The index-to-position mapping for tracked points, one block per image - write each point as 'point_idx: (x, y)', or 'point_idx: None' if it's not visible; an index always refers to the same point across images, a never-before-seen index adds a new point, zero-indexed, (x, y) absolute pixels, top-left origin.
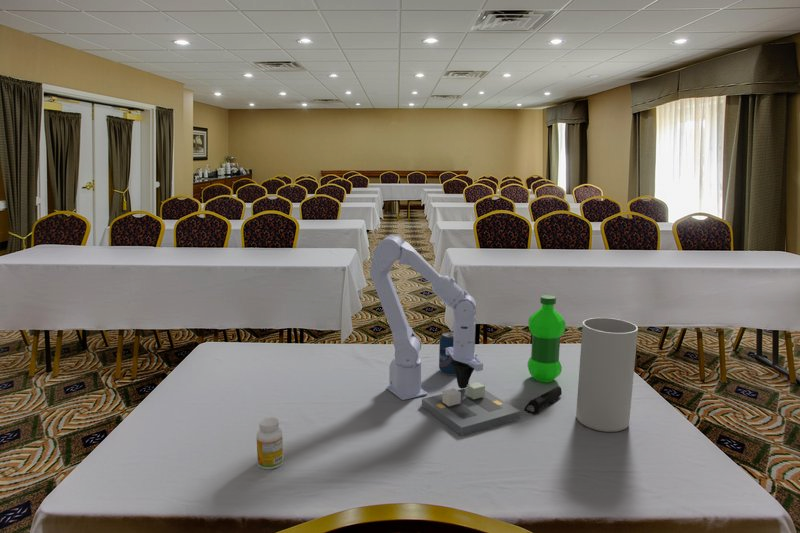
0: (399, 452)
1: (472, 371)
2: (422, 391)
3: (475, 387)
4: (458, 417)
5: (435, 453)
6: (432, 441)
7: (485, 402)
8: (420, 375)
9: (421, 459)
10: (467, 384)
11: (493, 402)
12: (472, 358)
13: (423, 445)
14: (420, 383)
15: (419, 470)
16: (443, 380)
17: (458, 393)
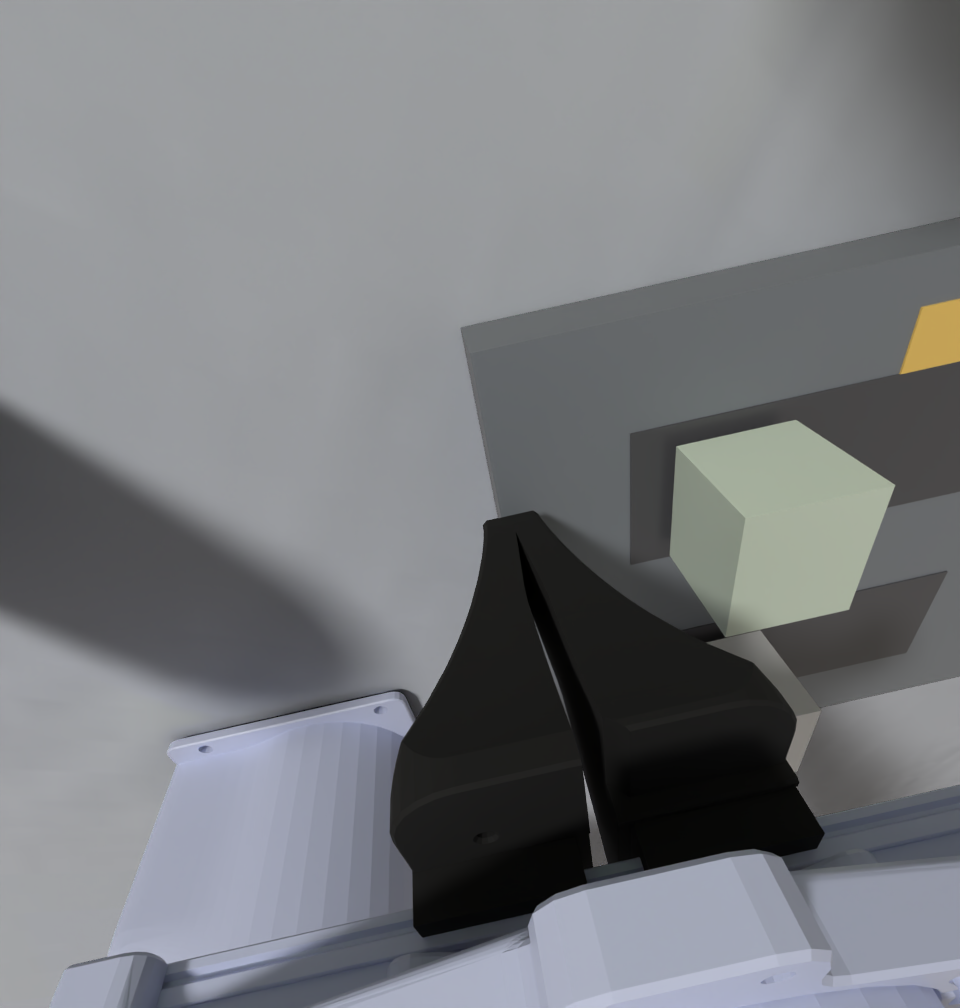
0: (829, 803)
1: (667, 630)
2: (370, 717)
3: (839, 588)
4: (872, 665)
5: (929, 733)
6: (858, 730)
7: (862, 445)
8: (376, 870)
9: (917, 765)
10: (728, 634)
11: (922, 373)
12: (951, 989)
13: (854, 754)
14: (376, 793)
15: (956, 774)
16: (97, 537)
17: (814, 720)
